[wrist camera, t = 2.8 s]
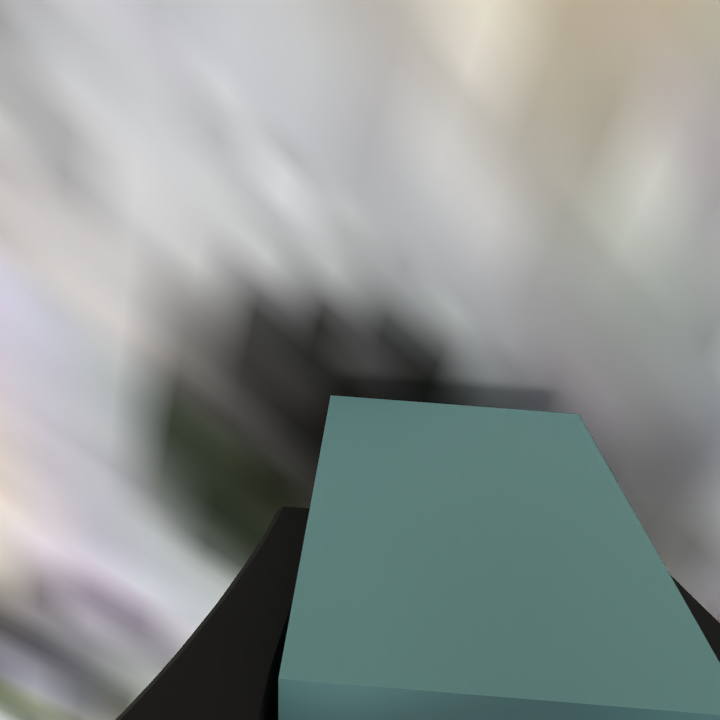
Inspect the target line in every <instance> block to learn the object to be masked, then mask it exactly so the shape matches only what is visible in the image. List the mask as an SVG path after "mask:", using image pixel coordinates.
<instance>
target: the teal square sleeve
mask: <svg viewBox="0 0 720 720" xmlns="http://www.w3.org/2000/svg"><path fill="white" fill-rule="evenodd" d="M278 720H720V662H719V661H718V659H717V657H716V655H715V654H714V652H713V650H712V648H711V647H710V645H709V643H708V641H707V640H706V638H705V636H704V634H703V632H702V631H701V629H700V627H699V625H698V624H697V622H696V620H695V618H694V617H693V615H692V613H691V611H690V610H689V608H688V606H687V604H686V602H685V601H684V599H683V597H682V595H681V594H680V592H679V590H678V588H677V587H676V585H675V583H674V581H673V580H672V578H671V576H670V574H669V572H668V571H667V569H666V567H665V565H664V564H663V562H662V560H661V558H660V557H659V555H658V553H657V551H656V550H655V548H654V546H653V544H652V542H651V541H650V539H649V537H648V535H647V534H646V532H645V530H644V528H643V527H642V525H641V523H640V521H639V520H638V518H637V516H636V514H635V513H634V511H633V509H632V507H631V505H630V504H629V502H628V500H627V498H626V497H625V495H624V493H623V491H622V490H621V488H620V486H619V484H618V483H617V481H616V479H615V477H614V475H613V474H612V472H611V470H610V468H609V467H608V465H607V463H606V461H605V460H604V458H603V456H602V454H601V453H600V451H599V449H598V447H597V445H596V444H595V442H594V440H593V438H592V437H591V435H590V433H589V431H588V430H587V428H586V426H585V424H584V423H583V421H582V419H581V417H580V415H579V414H571V413H558V412H545V411H532V410H518V409H505V408H492V407H479V406H465V405H452V404H439V403H426V402H412V401H399V400H386V399H373V398H359V397H346V396H333V395H331V396H330V402H329V407H328V412H327V418H326V423H325V429H324V434H323V440H322V445H321V450H320V456H319V461H318V467H317V472H316V477H315V483H314V488H313V494H312V499H311V504H310V510H309V515H308V521H307V526H306V532H305V537H304V542H303V548H302V553H301V559H300V564H299V569H298V575H297V580H296V586H295V591H294V597H293V602H292V607H291V613H290V618H289V624H288V629H287V634H286V640H285V645H284V651H283V656H282V662H281V667H280V672H279V678H278Z"/></svg>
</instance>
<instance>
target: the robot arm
mask: <svg viewBox="0 0 720 720" xmlns="http://www.w3.org/2000/svg"><path fill="white" fill-rule="evenodd" d="M309 510H310V509H308V508H296V507H282V508H281V509H280V510H278V511H277V512H276V514H275V516H274V518H273V520H272V522H271V524H270V525H269V527H268V529H267V531H266V532H265V534H264V536H263V537H262V539H261V541H260V542H259V544H258V545H257V547H256V549H255V550H254V552H253V553H252V555H251V556H250V558H249V559H248V561H247V562H246V564H245V565H244V567H243V568H242V570H241V571H240V572H239V574H238V575H237V577H236V578H235V579H234V581H233V582H232V583H231V585H230V586H229V588H228V589H227V590H226V592H225V593H224V595H223V596H222V597H221V599H220V600H219V601H218V603H217V604H216V605H215V607H214V608H213V609H212V611H211V612H210V613H209V614H208V616H207V617H206V618H205V619H204V620H203V622H202V623H201V624H200V625H199V627H198V628H197V629H196V630H195V632H194V633H193V634H192V635H191V636H190V638H189V639H188V640H187V641H186V643H185V644H184V645H183V646H182V648H181V649H180V650H179V651H178V652H177V654H176V655H175V656H174V657H173V658H172V659H171V660H170V662H169V663H168V664H167V665H166V666H165V667H164V668H163V670H162V671H161V672H160V673H159V674H158V675H157V676H156V677H155V679H154V680H153V681H152V682H151V683H150V684H149V685H148V686H147V687H146V688H145V689H144V690H143V692H142V693H141V694H140V695H139V696H138V697H137V698H136V699H135V700H134V701H133V702H132V703H131V704H130V705H129V706H128V707H127V708H126V710H125V711H124V712H123V713H122V714H121V715H120V716H119V717H118V718H117V719H116V720H278V678H279V672H280V667H281V662H282V656H283V651H284V645H285V640H286V634H287V629H288V624H289V618H290V613H291V607H292V602H293V597H294V591H295V586H296V580H297V575H298V569H299V564H300V559H301V553H302V548H303V542H304V537H305V532H306V526H307V521H308V515H309ZM670 576H671V575H670ZM671 578H672V580H673V581H674V583H675V585H676V587H677V588H678V590H679V592H680V594H681V595H682V597H683V599H684V601H685V602H686V604H687V606H688V608H689V610H690V611H691V613H692V615H693V617H694V618H695V620H696V622H697V624H698V625H699V627H700V629H701V631H702V632H703V634H704V636H705V638H706V640H707V641H708V643H709V645H710V647H711V648H712V650H713V652H714V654H715V655H716V657H717V659H718V661H719V662H720V623H719V622H718V621H717V620H716V619H715V618H714V617H713V616H712V615H711V614H710V613H709V612H708V611H707V610H706V609H704V608H703V607H702V606H701V605H700V604H699V603H698V602H697V601H696V600H695V599H694V598H693V597H692V596H691V595H690V594H689V593H688V592H687V591H686V590H685V589H684V588H683V587H682V586H681V585H680V584H679V583H678V582H677V581H676V580H675V579H674V578H673V577H672V576H671Z"/></svg>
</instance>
